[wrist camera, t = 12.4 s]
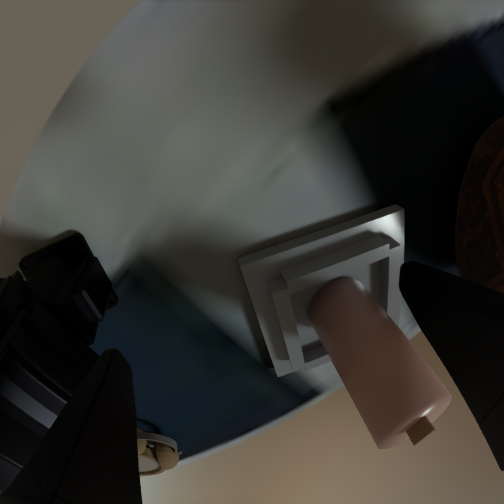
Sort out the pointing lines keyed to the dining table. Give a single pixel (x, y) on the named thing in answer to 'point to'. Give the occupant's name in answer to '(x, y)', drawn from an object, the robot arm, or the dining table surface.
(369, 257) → the dish
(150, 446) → the alarm clock
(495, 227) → the jug
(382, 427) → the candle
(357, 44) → the dining table surface
